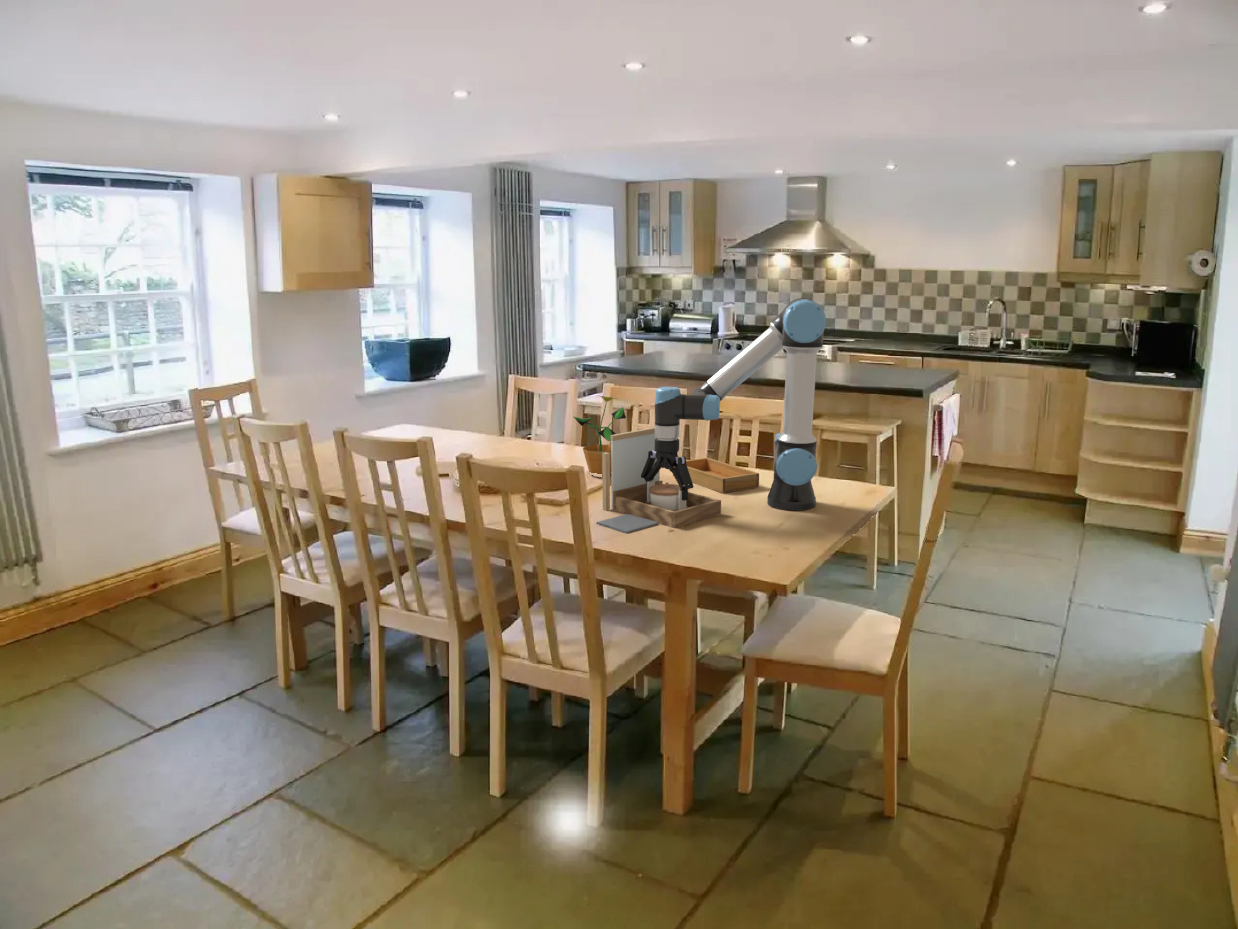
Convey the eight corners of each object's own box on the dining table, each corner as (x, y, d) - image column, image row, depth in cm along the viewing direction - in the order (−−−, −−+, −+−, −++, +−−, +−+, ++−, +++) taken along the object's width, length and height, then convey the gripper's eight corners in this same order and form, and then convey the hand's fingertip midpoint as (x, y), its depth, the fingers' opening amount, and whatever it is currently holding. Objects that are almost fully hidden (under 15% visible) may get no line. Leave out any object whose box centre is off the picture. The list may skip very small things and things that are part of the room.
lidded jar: (644, 509, 289) (644, 480, 287) (675, 506, 293) (675, 477, 291) (657, 518, 279) (657, 488, 277) (689, 515, 283) (690, 485, 281)
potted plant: (632, 479, 328) (631, 395, 322) (580, 482, 324) (578, 397, 317) (620, 468, 345) (620, 388, 339) (570, 470, 341) (569, 390, 334)
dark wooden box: (720, 514, 283) (721, 495, 282) (674, 527, 270) (674, 508, 269) (659, 498, 302) (659, 480, 301) (613, 510, 289) (613, 491, 288)
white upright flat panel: (660, 498, 302) (660, 427, 297) (609, 511, 288) (608, 436, 282) (653, 496, 304) (653, 426, 299) (602, 509, 290) (601, 435, 284)
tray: (672, 476, 333) (672, 461, 332) (707, 471, 341) (707, 456, 339) (722, 495, 307) (722, 478, 306) (759, 489, 315) (759, 473, 313)
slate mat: (658, 524, 274) (658, 522, 273) (626, 533, 265) (626, 531, 265) (628, 515, 283) (628, 513, 283) (596, 524, 274) (596, 522, 274)
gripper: (706, 442, 274) (704, 511, 279) (647, 430, 292) (646, 495, 297) (688, 446, 270) (687, 516, 274) (629, 433, 287) (629, 500, 292)
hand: (666, 505), depth 286 cm, fingers open, 13 cm apart
